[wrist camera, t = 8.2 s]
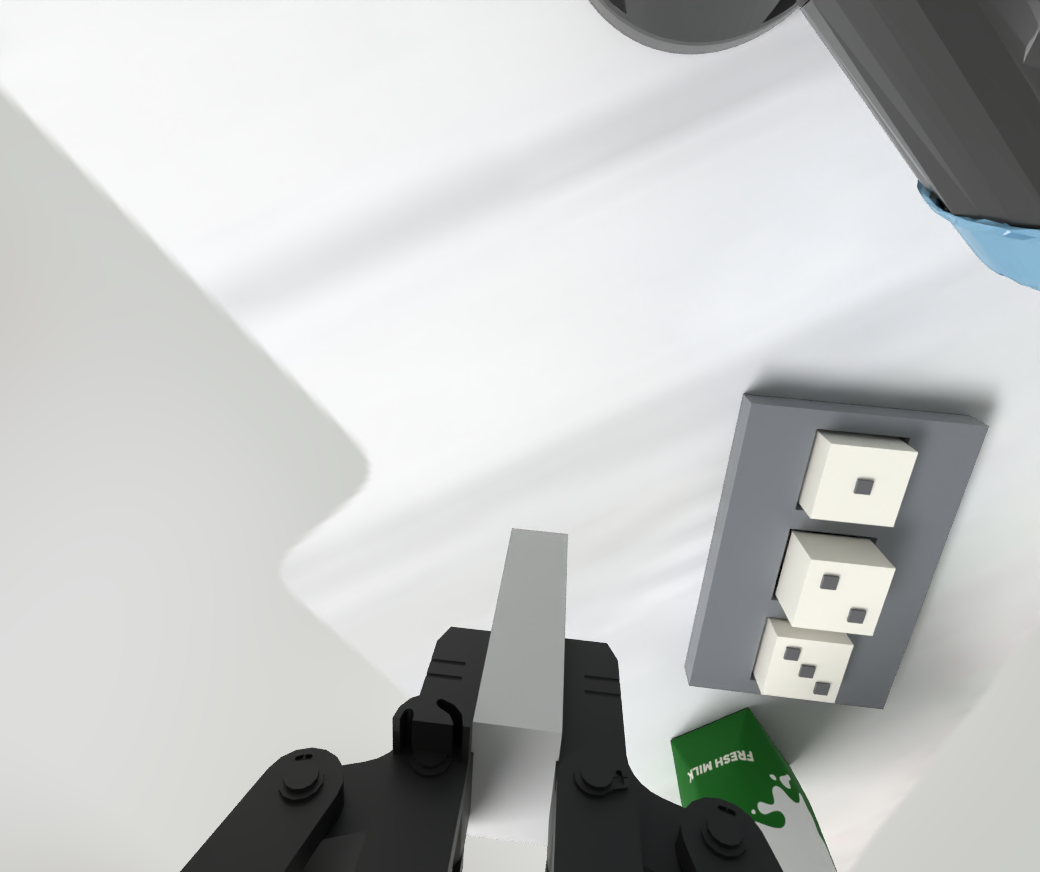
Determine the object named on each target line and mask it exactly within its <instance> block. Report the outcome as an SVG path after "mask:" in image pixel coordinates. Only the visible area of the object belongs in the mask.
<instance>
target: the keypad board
mask: <svg viewBox="0 0 1040 872" xmlns="http://www.w3.org/2000/svg"><path fill="white" fill-rule="evenodd" d="M988 427H989V426H987V425H985V424H984V423H982V422H980V421H978V420H976V419H974V418H972V417H970V416H967V415H957V414H946V413H936V412H925V411H915V410H904V409H894V408H883V407H873V406H862V405H852V404H841V403H831V402H820V401H810V400H799V399H789V398H778V397H768V396H757V395H747V394H743V397H742V402H741V406H740V411H739V416H738V420H737V425H736V430H735V434H734V439H733V444H732V448H731V453H730V458H729V462H728V467H727V472H726V476H725V481H724V485H723V490H722V495H721V499H720V504H719V509H718V513H717V518H716V523H715V527H714V532H713V537H712V541H711V546H710V551H709V555H708V560H707V565H706V569H705V574H704V578H703V583H702V588H701V592H700V597H699V602H698V606H697V611H696V616H695V620H694V625H693V630H692V634H691V639H690V644H689V648H688V653H687V657H686V662H685V671H686V675H687V679H688V684H689V686H696V687H704V688H712V689H721V690H729V691H737V692H745V693H753V694H761V692H760V689H759V687H758V684H757V681H756V679H755V676H754V673H753V671H752V670H753V666H754V663H755V659H756V655H757V651H758V648H759V644H760V640H761V636H762V632H763V629H764V625H765V621H766V617H775V618H783V619H788V618H787V616H786V614H785V612H784V610H783V608H782V606H781V604H780V602H779V600H778V598H777V597H776V595H775V593H776V590H777V586H778V585H776V580H777V576H778V572H779V569H780V565H781V561H782V557H783V554H784V550H785V546H786V542H787V539H788V535H789V531H790V529H799V530H808V531H817V532H827V533H836V534H845V535H855V536H860V538H864V539H870V540H871V541H872V542H873V543H874V545H875V546H876V547H877V548H878V549H879V550H880V551H881V553H882V554H883V555H884V556H885V557H886V558H887V559H888V560H889V562H890V563H891V564H892V565H893V566H894V567H895V568H896V569H895V572H894V575H893V578H892V581H891V584H890V587H889V590H888V593H887V595H886V598H885V601H884V604H883V607H882V610H881V613H880V616H879V618H878V621H877V624H876V627H875V630H874V633H873V636H868V635H859V634H850V633H846V634H847V636H848V637H849V639H850V640H851V642H852V644H853V645H854V646H853V649H852V652H851V655H850V658H849V661H848V664H847V667H846V670H845V673H844V676H843V679H842V682H841V685H840V688H839V691H838V694H837V697H836V700H835V704H844V705H852V706H860V707H868V708H876V709H883V708H884V705H885V703H886V700H887V697H888V695H889V692H890V689H891V687H892V684H893V681H894V679H895V676H896V673H897V671H898V668H899V665H900V663H901V660H902V657H903V655H904V652H905V649H906V646H907V644H908V641H909V638H910V636H911V633H912V630H913V628H914V625H915V622H916V620H917V617H918V614H919V612H920V609H921V606H922V604H923V601H924V598H925V596H926V593H927V590H928V588H929V585H930V582H931V580H932V577H933V574H934V572H935V569H936V566H937V564H938V561H939V558H940V556H941V553H942V550H943V548H944V545H945V542H946V540H947V537H948V534H949V532H950V529H951V526H952V524H953V521H954V518H955V516H956V513H957V510H958V508H959V505H960V502H961V500H962V497H963V494H964V492H965V489H966V486H967V483H968V481H969V478H970V475H971V473H972V470H973V467H974V465H975V462H976V459H977V457H978V454H979V451H980V449H981V446H982V443H983V441H984V438H985V435H986V433H987V430H988ZM817 429H824V430H834V431H845V432H855V433H865V434H875V435H886V436H896V437H898V438H899V439H901V440H902V441H903V442H905V443H906V444H907V445H909V446H910V447H912V448H913V449H914V450H916V451H917V452H918V455H917V458H916V461H915V464H914V467H913V470H912V473H911V476H910V479H909V482H908V485H907V488H906V491H905V494H904V497H903V500H902V503H901V506H900V509H899V512H898V515H897V517H896V520H895V523H894V526H893V527H887V526H877V525H868V524H858V523H849V522H839V521H830V520H820V519H811V518H810V517H809V516H808V515H807V513H806V512H805V511H804V509H803V508H802V507H801V505H800V504H799V503H798V497H799V494H800V490H801V486H802V482H803V478H804V475H805V471H806V467H807V463H808V460H809V456H810V452H811V448H812V445H813V441H814V437H815V433H816V430H817ZM770 696H771V695H770ZM778 697H779V696H778ZM786 698H787V697H786ZM794 699H795V698H794ZM811 701H812V700H811ZM819 702H820V701H819ZM827 703H828V702H827Z"/></svg>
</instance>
